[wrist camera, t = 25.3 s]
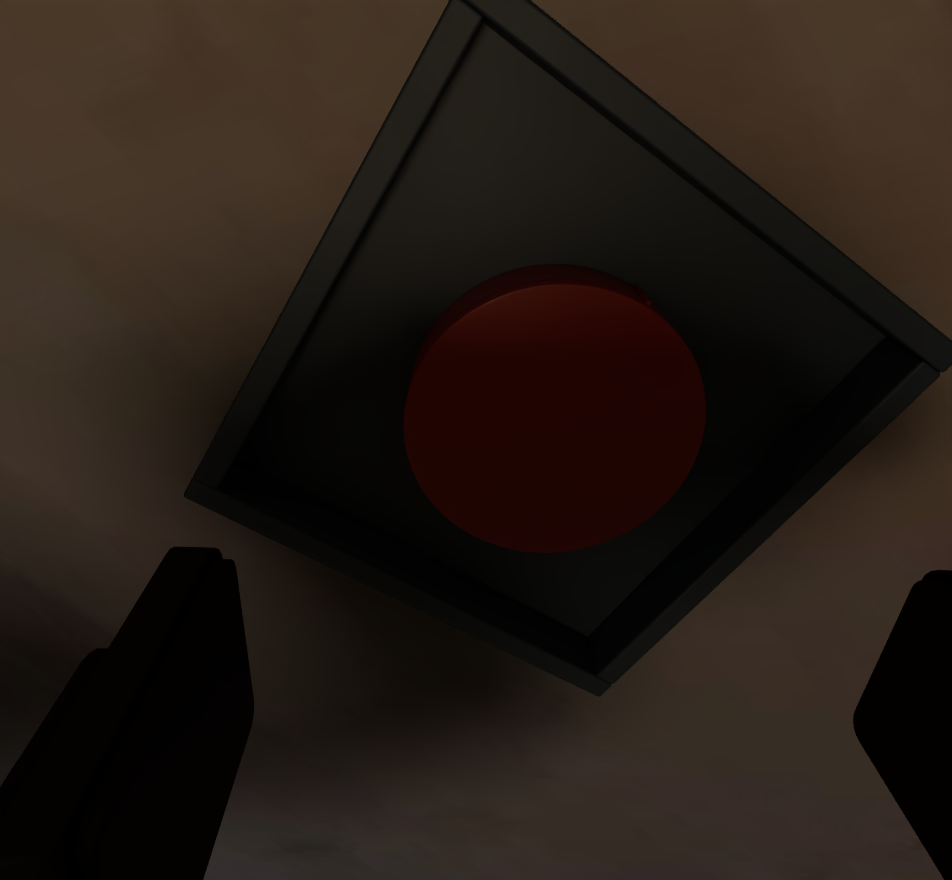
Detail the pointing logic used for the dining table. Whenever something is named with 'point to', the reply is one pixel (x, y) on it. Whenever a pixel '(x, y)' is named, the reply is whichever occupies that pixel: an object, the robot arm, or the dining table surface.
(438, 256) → the tray
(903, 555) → the dining table surface
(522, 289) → the jar lid
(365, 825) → the dining table surface
